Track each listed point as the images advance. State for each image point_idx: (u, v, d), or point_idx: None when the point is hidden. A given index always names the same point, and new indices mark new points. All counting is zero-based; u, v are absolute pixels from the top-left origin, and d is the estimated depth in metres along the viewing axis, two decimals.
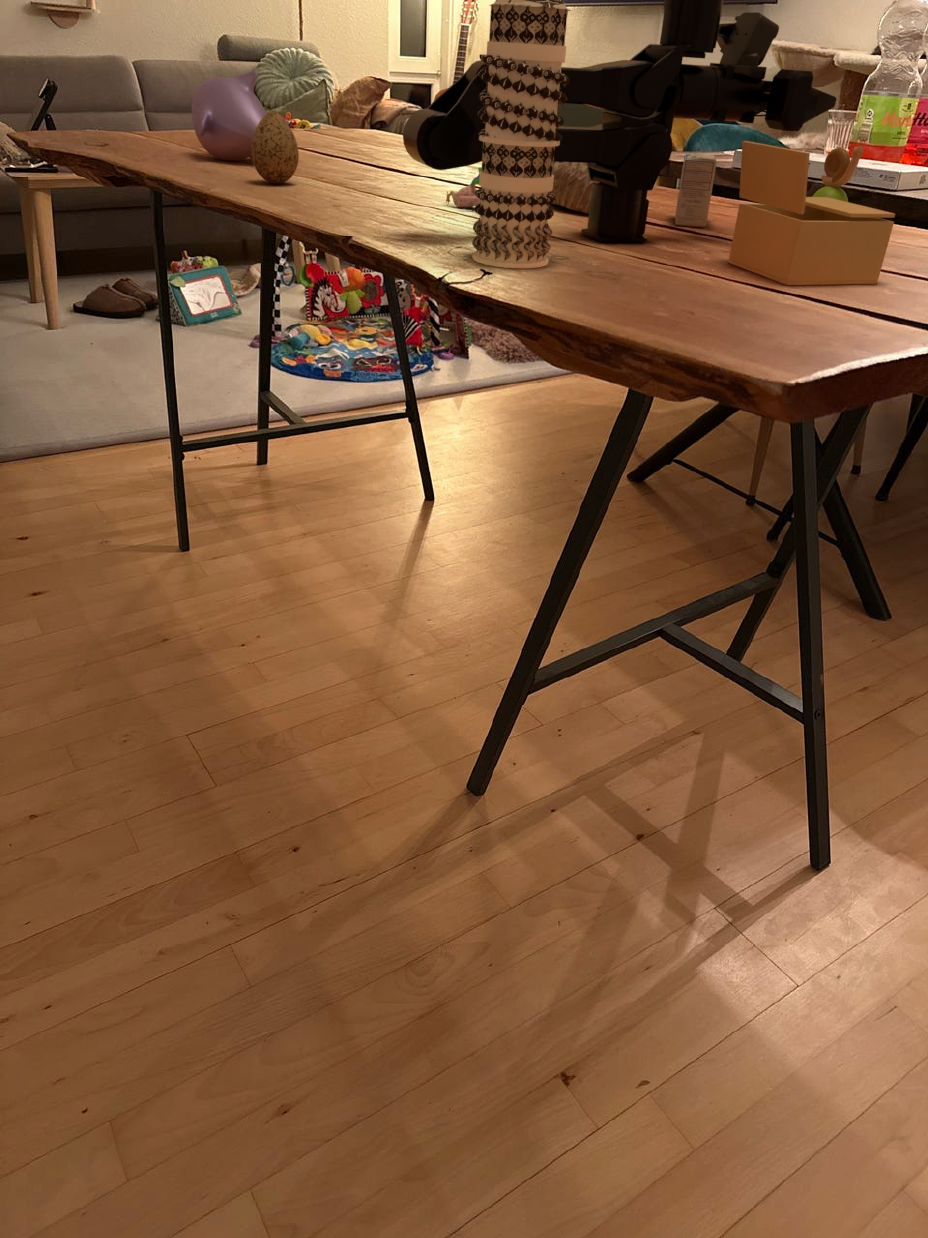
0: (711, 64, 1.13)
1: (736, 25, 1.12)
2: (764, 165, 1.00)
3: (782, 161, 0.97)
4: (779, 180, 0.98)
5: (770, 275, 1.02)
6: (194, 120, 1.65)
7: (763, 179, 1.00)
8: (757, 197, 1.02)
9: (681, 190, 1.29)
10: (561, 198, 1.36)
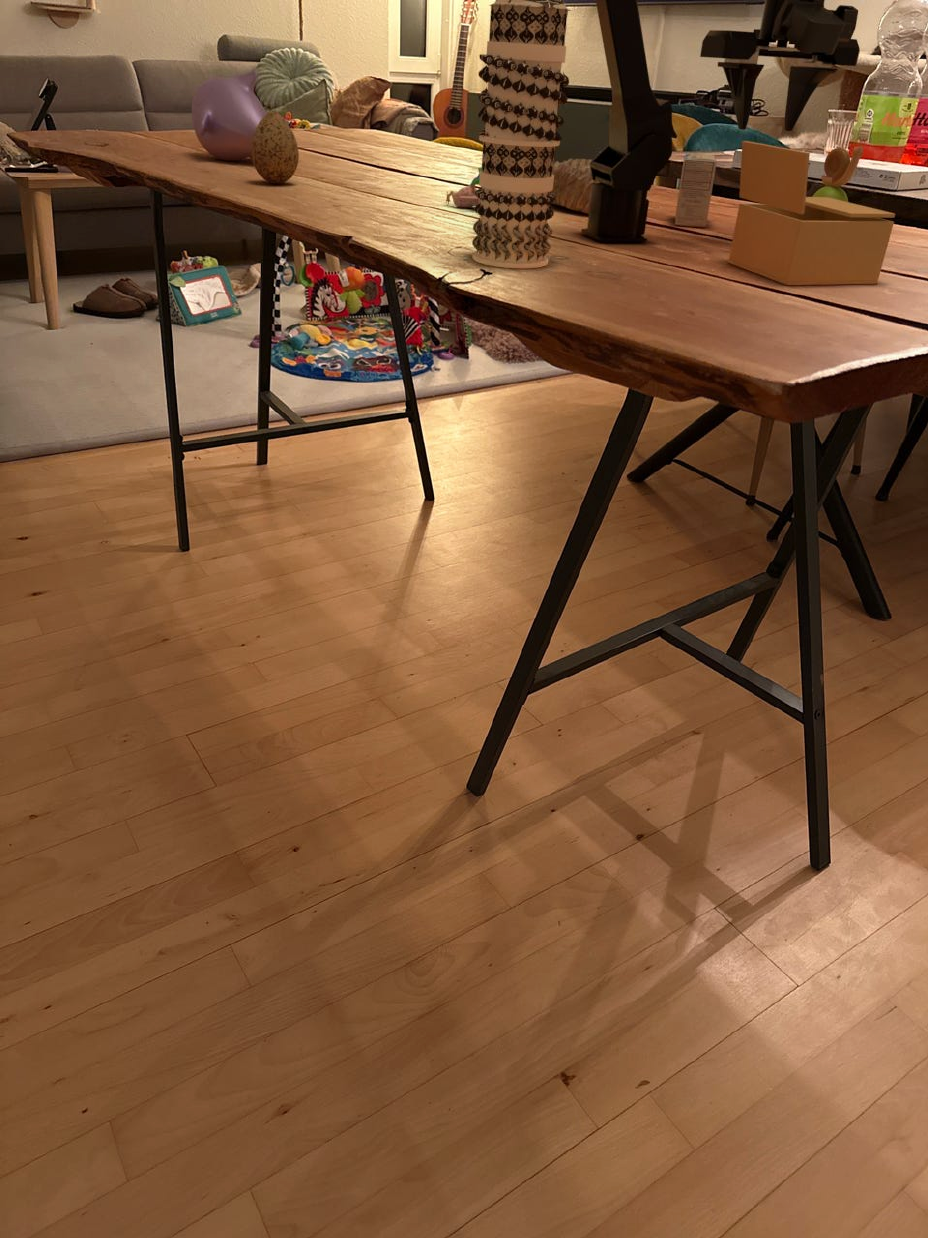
0: None
1: (838, 19, 1.05)
2: (764, 165, 1.00)
3: (782, 161, 0.97)
4: (779, 180, 0.98)
5: (770, 275, 1.02)
6: (194, 120, 1.65)
7: (763, 179, 1.00)
8: (757, 197, 1.02)
9: (681, 190, 1.29)
10: (561, 198, 1.36)
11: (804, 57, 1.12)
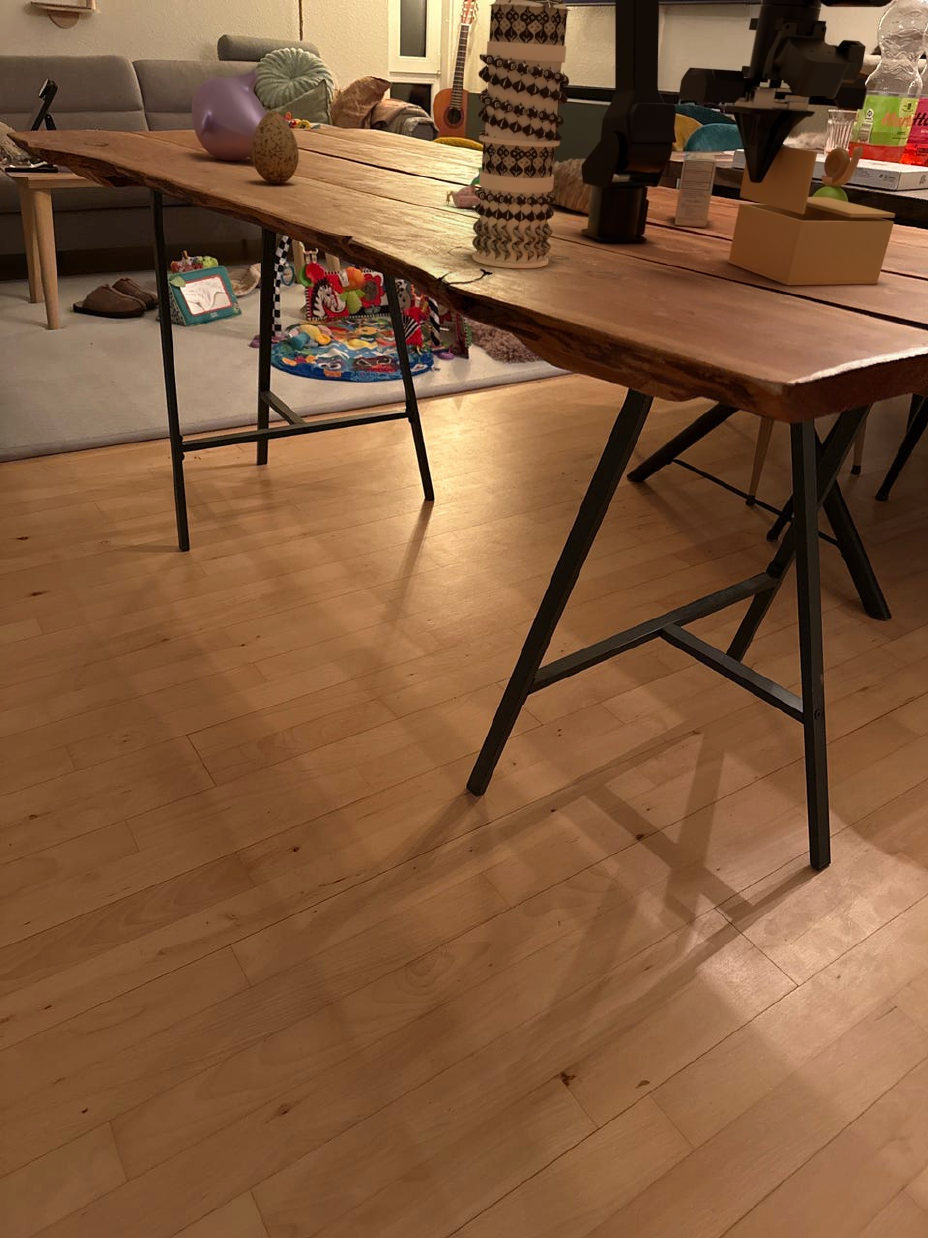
0: (820, 24, 0.90)
1: (842, 56, 0.88)
2: None
3: (788, 160, 0.97)
4: (783, 179, 0.98)
5: (770, 275, 1.02)
6: (194, 120, 1.65)
7: (766, 178, 1.01)
8: (758, 196, 1.02)
9: (681, 190, 1.29)
10: (561, 198, 1.36)
11: None
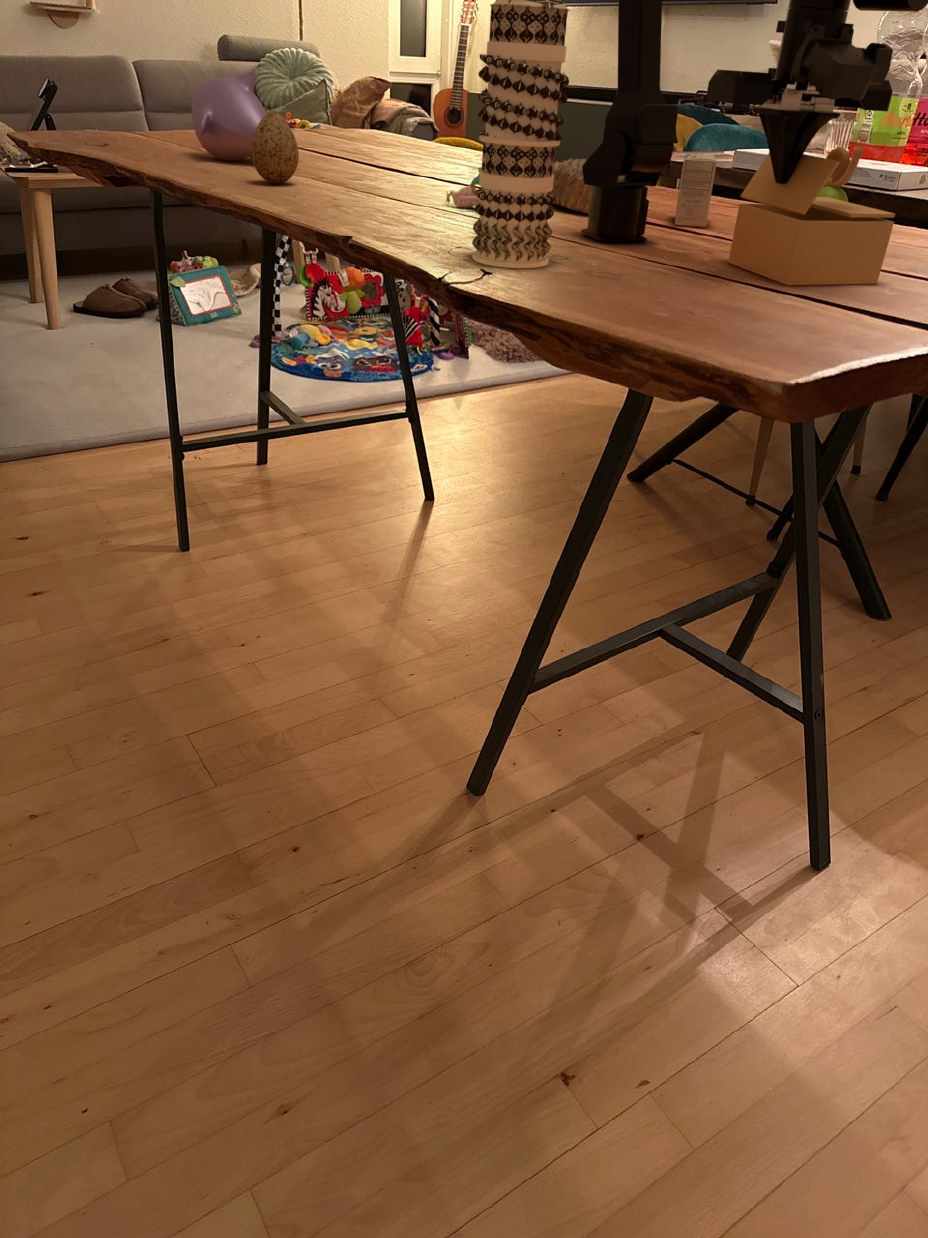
0: (847, 26, 0.91)
1: (869, 59, 0.89)
2: None
3: (807, 166, 0.98)
4: (794, 182, 0.99)
5: (770, 275, 1.02)
6: (194, 120, 1.65)
7: None
8: (761, 196, 1.02)
9: (681, 190, 1.29)
10: (561, 198, 1.36)
11: None
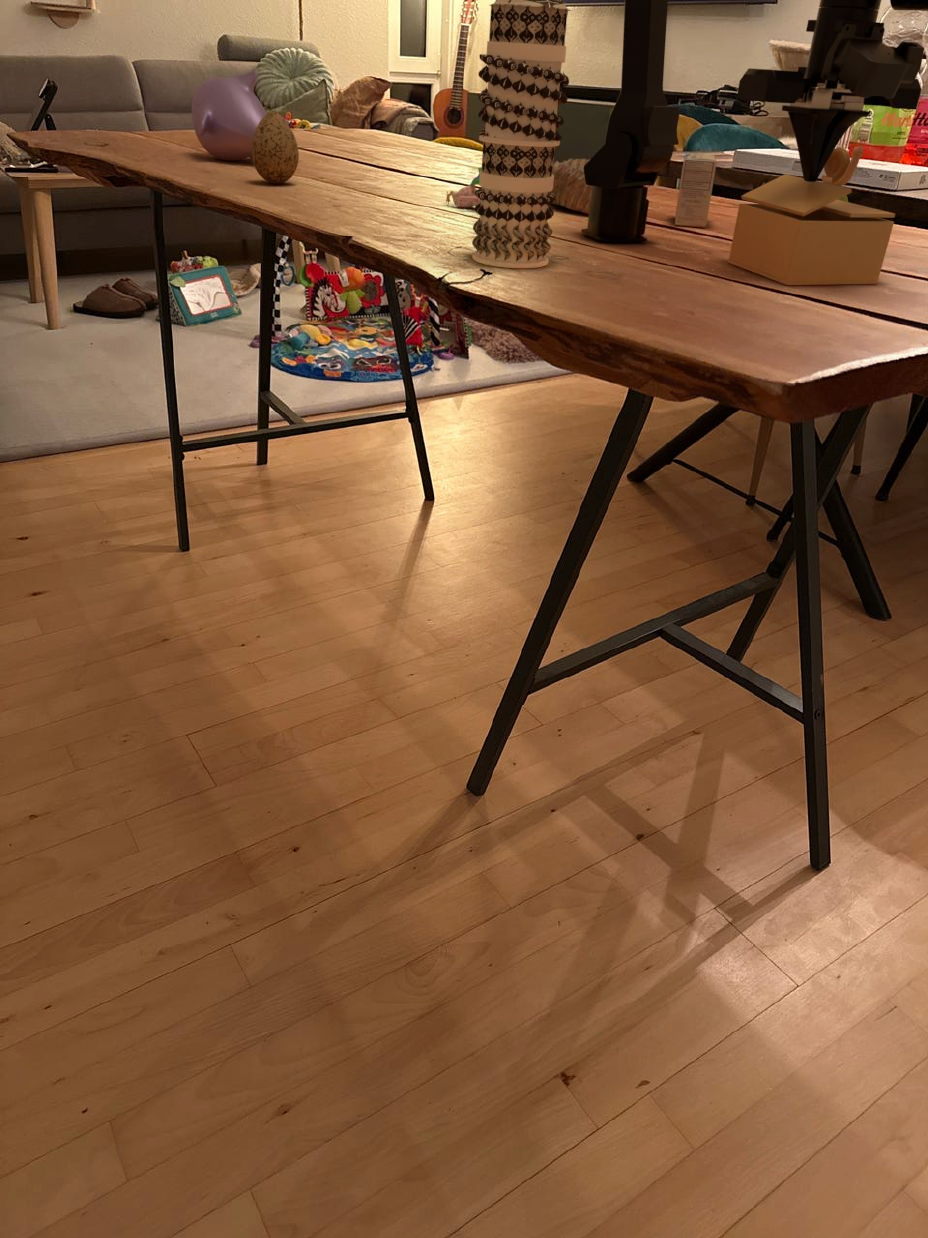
0: (878, 25, 0.91)
1: (901, 58, 0.89)
2: (793, 187, 1.02)
3: (817, 188, 0.99)
4: (801, 195, 1.00)
5: (770, 275, 1.02)
6: (194, 120, 1.65)
7: (783, 192, 1.02)
8: (763, 198, 1.02)
9: (681, 190, 1.29)
10: (561, 198, 1.36)
11: None
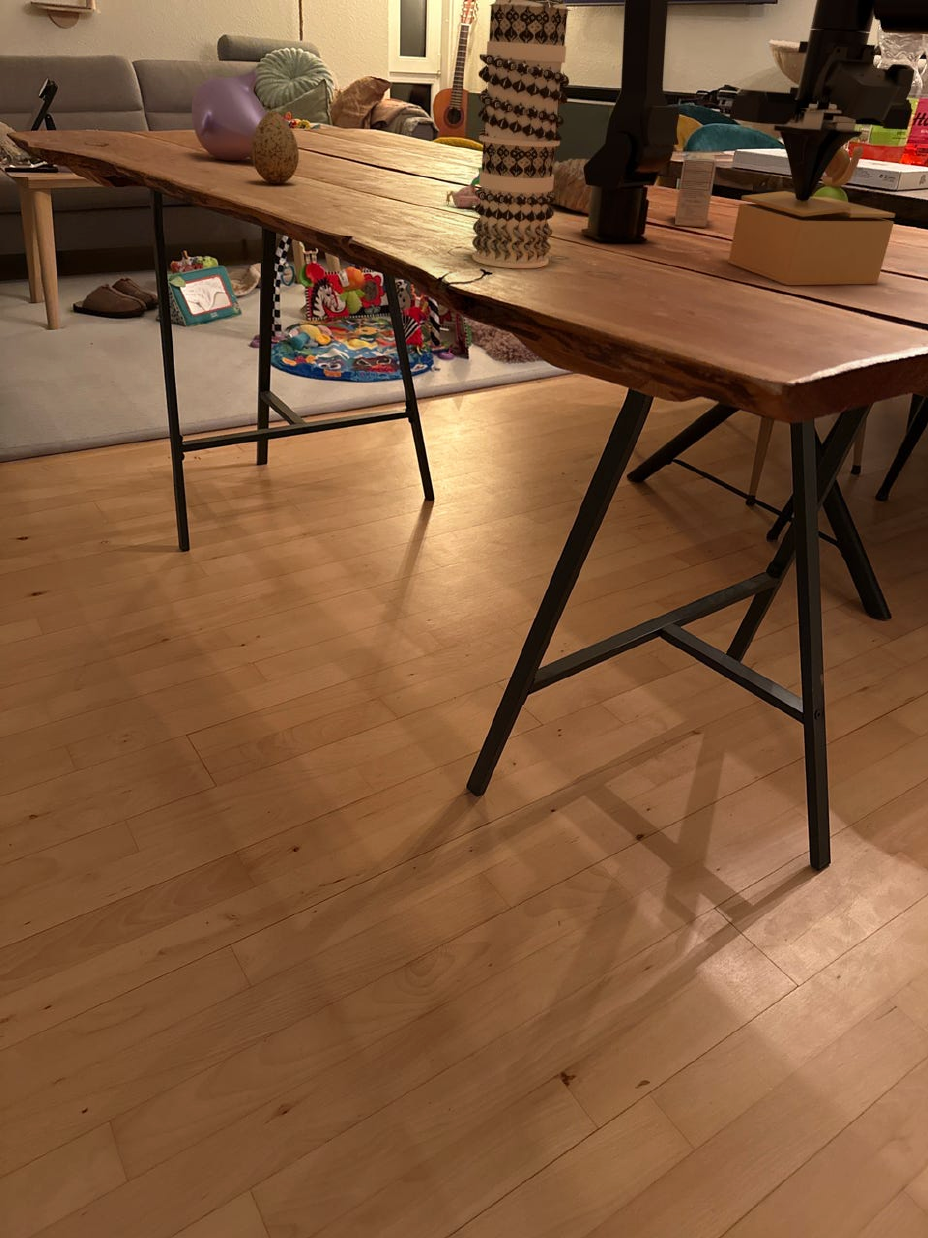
0: (869, 48, 0.92)
1: (891, 80, 0.90)
2: (794, 198, 1.03)
3: (818, 202, 1.00)
4: (801, 203, 1.00)
5: (770, 275, 1.02)
6: (194, 120, 1.65)
7: (783, 199, 1.02)
8: (764, 200, 1.03)
9: (681, 190, 1.29)
10: (561, 198, 1.36)
11: None
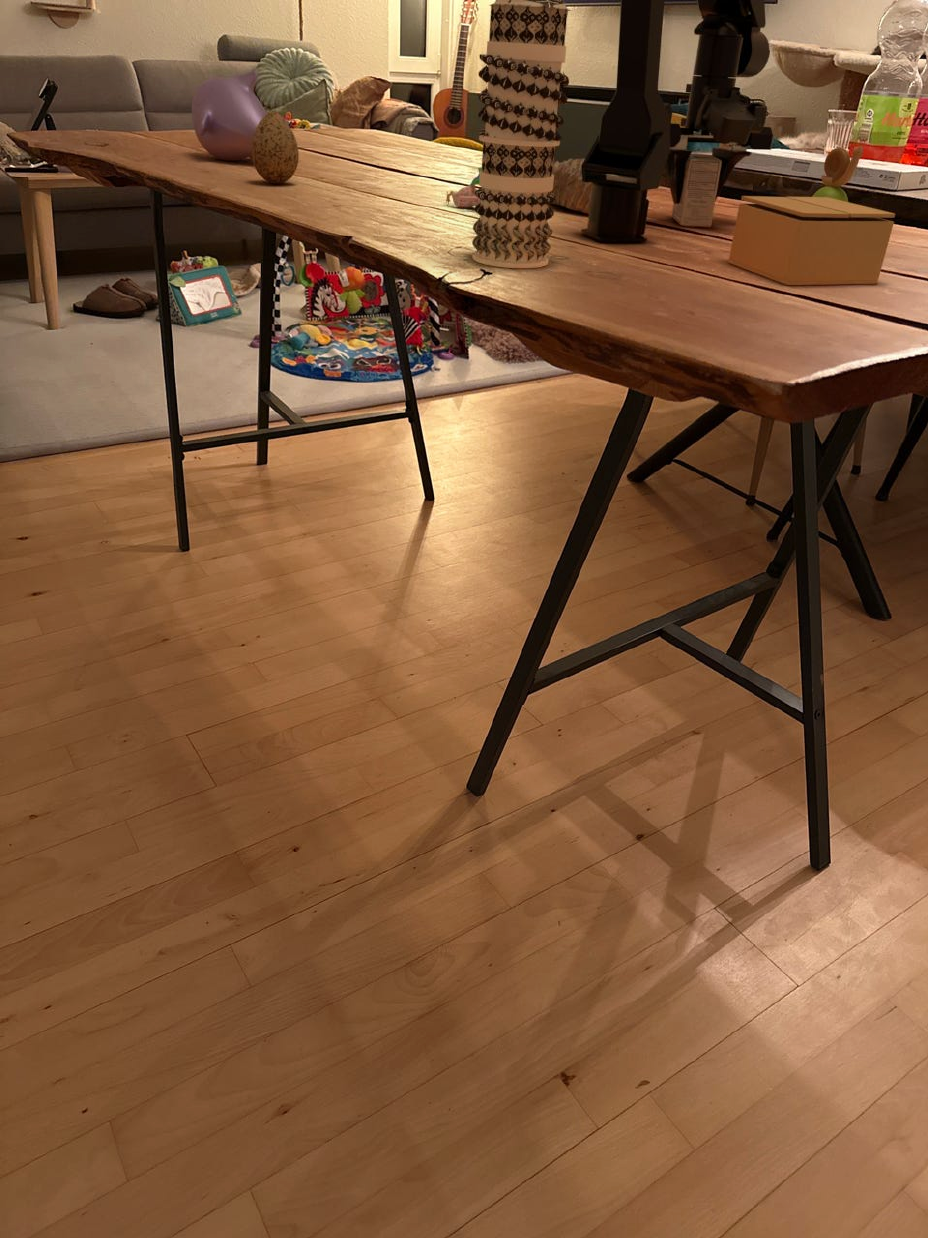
0: (735, 89, 1.23)
1: (750, 114, 1.21)
2: (793, 202, 1.03)
3: (817, 207, 1.01)
4: (801, 206, 1.00)
5: (770, 275, 1.02)
6: (194, 120, 1.65)
7: (783, 202, 1.03)
8: (764, 200, 1.03)
9: (687, 191, 1.28)
10: (561, 198, 1.36)
11: None
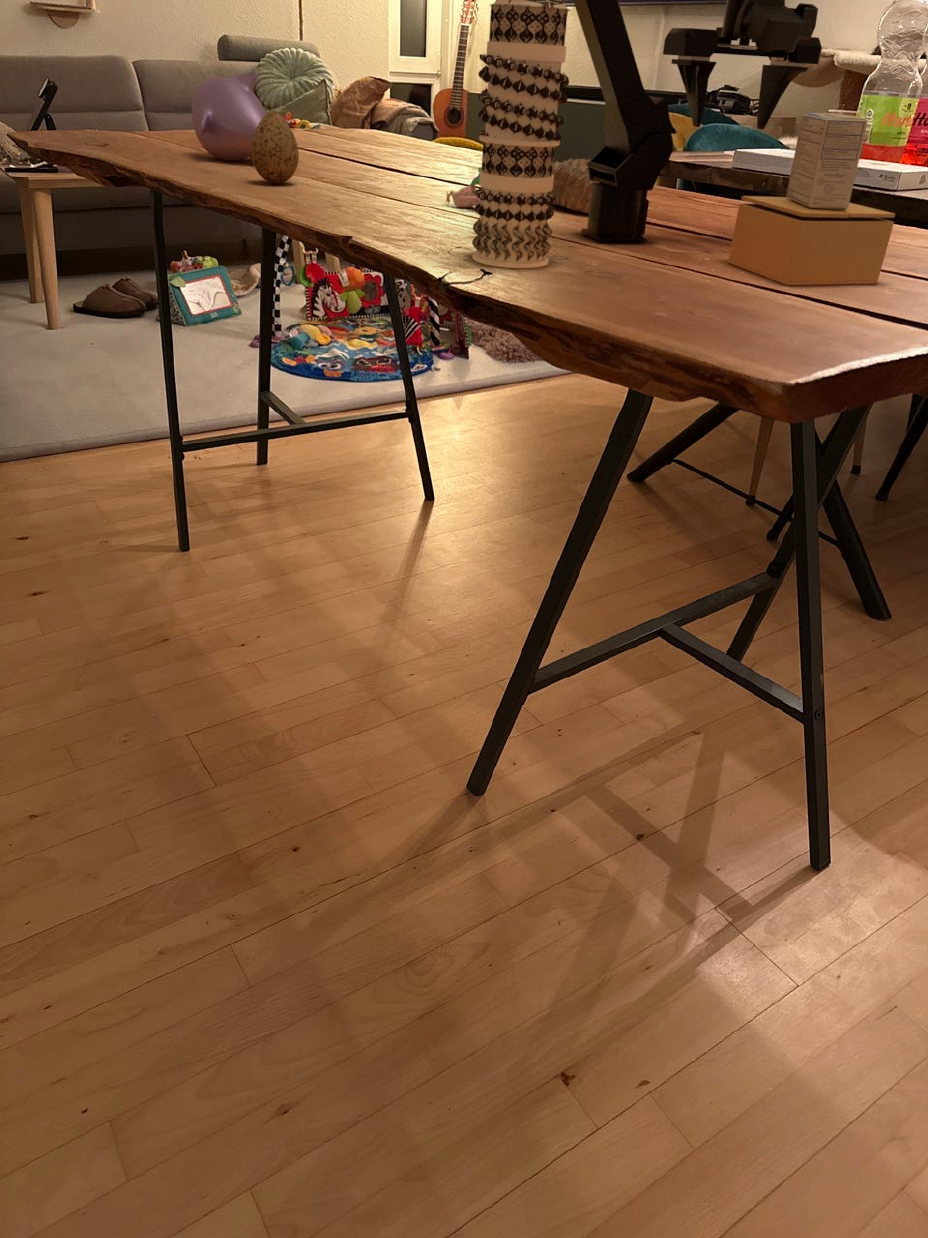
0: None
1: (798, 17, 1.05)
2: (793, 202, 1.03)
3: None
4: (801, 206, 1.00)
5: (770, 275, 1.02)
6: (194, 120, 1.65)
7: (783, 202, 1.03)
8: (764, 200, 1.03)
9: (820, 161, 0.97)
10: (561, 198, 1.36)
11: (767, 55, 1.13)
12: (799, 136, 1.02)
